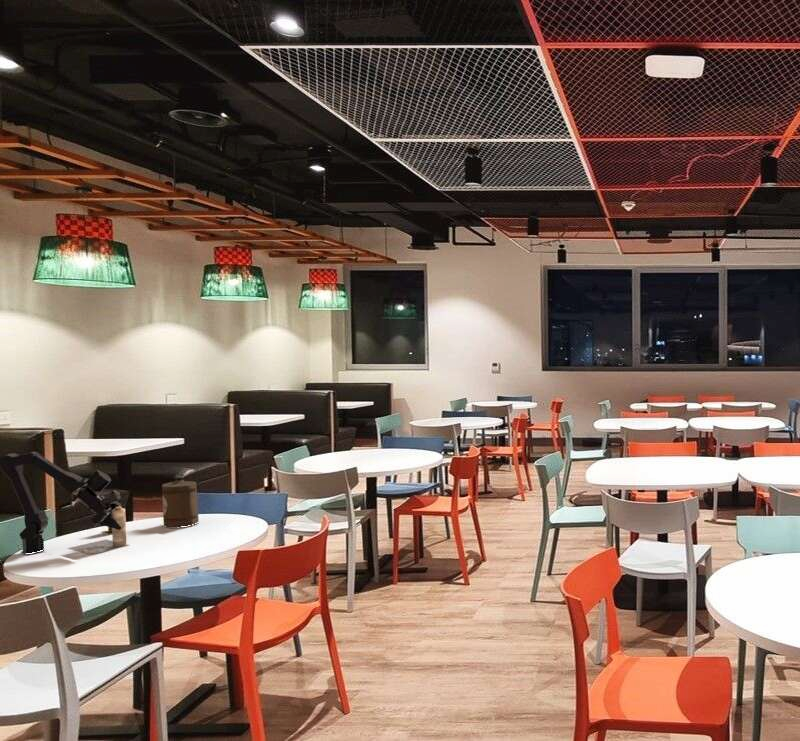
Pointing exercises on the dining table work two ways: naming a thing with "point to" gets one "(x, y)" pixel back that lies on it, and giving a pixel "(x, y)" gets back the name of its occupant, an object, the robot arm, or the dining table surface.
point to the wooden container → (180, 503)
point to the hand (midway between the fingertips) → (122, 527)
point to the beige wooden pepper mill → (120, 535)
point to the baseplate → (95, 547)
